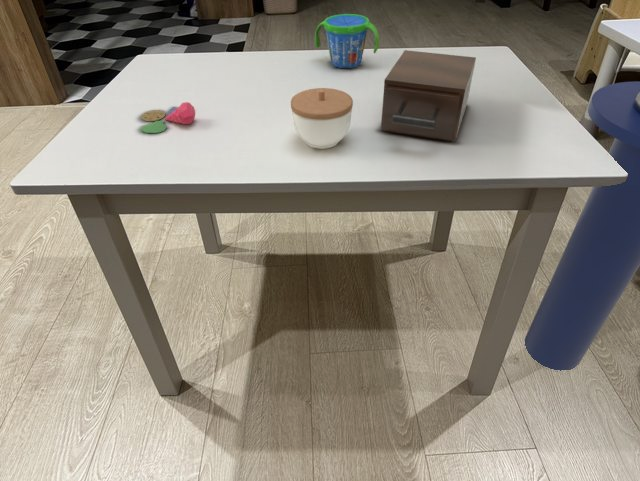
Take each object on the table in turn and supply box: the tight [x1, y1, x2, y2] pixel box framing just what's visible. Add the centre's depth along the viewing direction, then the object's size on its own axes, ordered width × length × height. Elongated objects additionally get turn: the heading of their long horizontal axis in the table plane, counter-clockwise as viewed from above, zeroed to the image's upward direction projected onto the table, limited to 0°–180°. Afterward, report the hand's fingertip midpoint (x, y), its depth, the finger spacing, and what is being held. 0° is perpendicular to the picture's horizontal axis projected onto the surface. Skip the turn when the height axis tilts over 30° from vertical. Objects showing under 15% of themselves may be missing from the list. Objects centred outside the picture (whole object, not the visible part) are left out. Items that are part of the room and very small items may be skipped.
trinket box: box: [290, 87, 354, 150], centre depth 80 cm, size 11×11×9 cm
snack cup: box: [314, 13, 380, 69], centre depth 109 cm, size 16×10×10 cm
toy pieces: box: [140, 101, 196, 134], centre depth 89 cm, size 12×11×4 cm
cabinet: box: [380, 49, 477, 143], centre depth 86 cm, size 16×14×10 cm
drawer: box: [383, 85, 461, 140], centre depth 83 cm, size 20×13×8 cm, turn 159°
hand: (480, 0), depth 71 cm, fingers closed
